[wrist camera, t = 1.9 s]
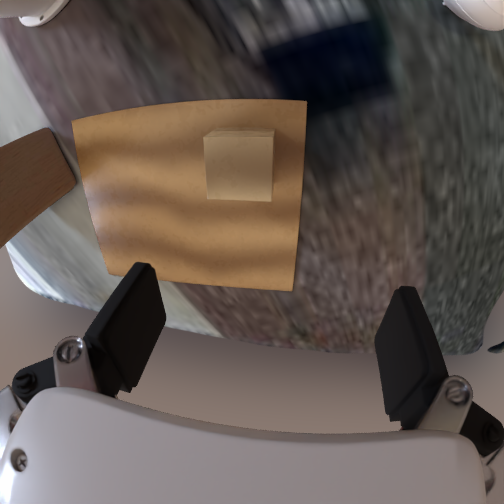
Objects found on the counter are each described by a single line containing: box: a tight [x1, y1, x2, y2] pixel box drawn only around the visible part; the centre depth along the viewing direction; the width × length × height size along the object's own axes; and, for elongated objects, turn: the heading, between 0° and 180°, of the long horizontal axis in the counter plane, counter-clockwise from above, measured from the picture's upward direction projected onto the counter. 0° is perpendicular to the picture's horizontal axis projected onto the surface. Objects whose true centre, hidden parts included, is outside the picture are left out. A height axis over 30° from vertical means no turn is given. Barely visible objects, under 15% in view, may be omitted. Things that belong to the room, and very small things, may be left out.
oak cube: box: [203, 128, 276, 202], centre depth 26 cm, size 6×6×5 cm
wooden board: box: [72, 99, 307, 291], centre depth 33 cm, size 24×28×1 cm
